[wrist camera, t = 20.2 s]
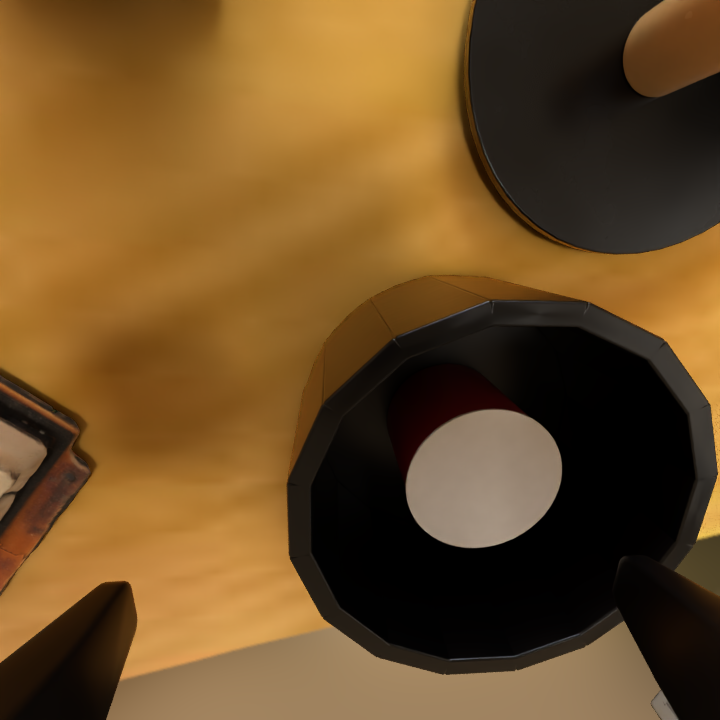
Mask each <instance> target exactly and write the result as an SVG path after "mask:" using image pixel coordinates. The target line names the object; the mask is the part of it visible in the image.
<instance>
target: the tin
mask: <svg viewBox="0 0 720 720" xmlns="http://www.w3.org/2000/svg"><path fill="white" fill-rule="evenodd" d="M440 364H458V365H463V366H466V367H469V368H472V369H474V370H476V371H478V372H479V373H480V374H482V375H483V376H484V377H485V378H487V379H488V380H489V381H490V382H491V383H492V384H493V385H494V386H495V387H497V388H498V389H499V390H500V391H501V392H502V393H503V394H504V395H506V396H507V397H508V398H509V399H510V400H511V401H512V402H513V403H515V404H516V405H517V406H518V407H519V408H520V409H521V410H522V411H523V412H525V413H526V414H527V415H528V416H529V417H530V418H532V419H534V420H535V421H537V422H538V423H539V424H541V425H542V426H543V427H544V428H545V429H546V430H547V431H548V432H549V434H550V435H551V436H552V438H553V439H554V441H555V443H556V445H557V447H558V449H559V452H560V456H561V462H562V476H561V483H560V486H559V490H558V492H557V495H556V497H555V499H554V501H553V503H552V505H551V506H550V508H549V509H548V511H547V512H546V513H545V515H544V516H543V517H542V518H541V519H540V520H539V521H538V522H537V523H536V524H535V525H533V526H532V527H531V528H530V529H528V530H527V531H526V532H524V533H523V534H521V535H519V536H517V537H515V538H514V539H511V540H509V541H507V542H504V543H501V544H498V545H494V546H489V547H481V548H464V547H457V546H453V545H450V544H447V543H444V542H442V541H439V540H437V539H436V538H434V537H432V536H431V535H430V534H428V533H427V532H426V531H424V530H423V528H422V527H421V526H420V525H419V524H418V523H417V521H416V520H415V519H414V517H413V515H412V513H411V511H410V509H409V505H408V502H407V498H406V490H405V486H404V483H403V480H402V476H401V473H400V470H399V466H398V463H397V460H396V456H395V453H394V450H393V446H392V443H391V440H390V436H389V433H388V428H387V415H388V409H389V406H390V403H391V401H392V398H393V396H394V395H395V393H396V391H397V390H398V389H399V387H400V386H401V385H402V384H403V383H404V382H405V381H406V380H407V379H408V378H410V377H411V376H412V375H414V374H415V373H417V372H419V371H421V370H423V369H425V368H428V367H431V366H434V365H440ZM717 475H718V471H717V462H716V452H715V443H714V434H713V425H712V416H711V406H710V404H709V403H708V400H707V399H706V397H705V396H704V395H703V393H702V392H701V390H700V389H699V387H698V386H697V385H696V383H695V382H694V380H693V379H692V377H691V376H690V375H689V373H688V372H687V370H686V369H685V367H684V366H683V365H682V363H681V362H680V360H679V359H678V357H677V356H676V355H675V353H674V352H673V350H672V349H671V347H670V346H669V345H668V343H667V342H666V341H665V340H664V339H663V338H661V337H659V336H657V335H655V334H653V333H651V332H649V331H647V330H645V329H643V328H641V327H639V326H637V325H635V324H633V323H631V322H629V321H627V320H625V319H622V318H620V317H618V316H616V315H614V314H612V313H610V312H608V311H606V310H604V309H602V308H600V307H598V306H596V305H594V304H592V303H590V302H586V301H582V300H578V299H574V298H570V297H566V296H562V295H558V294H554V293H549V292H545V291H541V290H537V289H533V288H529V287H525V286H521V285H517V284H513V283H508V282H504V281H500V280H496V279H492V278H488V277H468V276H458V275H445V276H428V277H427V276H425V277H422V278H420V279H415V280H411V281H408V282H405V283H402V284H399V285H396V286H394V287H392V288H389V289H387V290H385V291H383V292H381V293H379V294H377V295H375V296H374V297H371V298H370V299H369V300H367V301H366V302H364V303H363V304H361V305H360V306H359V307H358V308H357V309H355V310H354V311H353V312H352V313H351V314H349V315H348V316H347V317H346V318H345V319H344V320H343V321H342V322H341V323H340V325H339V326H338V327H337V328H336V329H335V330H334V331H333V333H332V334H331V335H330V336H329V337H328V338H327V339H326V341H325V342H324V344H323V347H322V349H321V351H320V353H319V355H318V357H317V359H316V360H315V362H314V365H313V368H312V371H311V374H310V376H309V379H308V381H307V384H306V386H305V388H304V391H303V396H302V401H301V407H300V412H299V418H298V424H297V429H296V435H295V441H294V446H293V452H292V457H291V463H290V469H289V474H288V480H287V511H288V545H289V556H290V560H291V562H292V564H293V565H294V567H295V569H296V571H297V573H298V575H299V576H300V578H301V580H302V582H303V584H304V585H305V587H306V589H307V591H308V593H309V594H310V596H311V598H312V600H313V602H314V603H315V605H316V607H317V609H318V611H319V612H320V614H321V616H322V617H323V619H324V620H326V621H327V622H328V623H330V624H331V625H333V626H334V627H335V628H337V629H338V630H340V631H341V632H342V633H344V634H345V635H346V636H348V637H349V638H351V639H352V640H353V641H355V642H356V643H358V644H359V645H360V646H362V647H363V648H365V649H366V650H367V651H369V652H370V653H371V654H373V655H374V656H376V657H379V658H381V659H386V660H389V661H393V662H397V663H400V664H405V665H408V666H412V667H416V668H420V669H423V670H427V671H431V672H435V673H439V674H446V675H450V674H468V673H486V672H504V671H515V670H516V669H517V670H520V669H523V668H526V667H529V666H532V665H535V664H538V663H540V662H543V661H546V660H549V659H552V658H555V657H558V656H561V655H563V654H566V653H569V652H572V651H575V650H578V649H581V648H584V647H585V646H586V645H589V644H591V643H592V642H594V641H595V640H597V639H598V638H599V637H601V636H602V635H604V634H605V633H607V632H608V631H610V630H611V629H612V628H614V627H615V626H617V625H618V624H620V623H621V622H623V621H624V619H623V617H622V615H621V613H620V611H619V609H618V608H617V606H616V603H615V601H614V598H613V591H612V589H613V584H614V580H615V576H616V572H617V568H618V565H619V561H620V559H621V558H622V557H624V556H633V555H644V556H648V557H650V558H651V559H653V560H655V561H657V562H659V563H660V564H662V565H664V566H666V567H668V568H669V569H671V570H673V571H674V570H675V569H676V568H677V567H678V565H679V564H680V563H681V562H682V560H683V559H684V558H685V556H686V555H687V554H688V553H689V551H690V550H691V549H692V548H693V545H694V544H695V543H696V540H697V537H698V534H699V531H700V528H701V525H702V522H703V519H704V516H705V513H706V509H707V506H708V503H709V500H710V497H711V494H712V491H713V488H714V485H715V482H716V479H717Z"/></svg>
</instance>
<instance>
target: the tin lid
mask: <svg viewBox="0 0 720 720" xmlns="http://www.w3.org/2000/svg"><path fill="white" fill-rule="evenodd" d="M464 86H465V99H466V108H467V113H468V118H469V123H470V128H471V133H472V136H473V139H474V142H475V145H476V148H477V151H478V154H479V157H480V159H481V161H482V163H483V166H484V168H485V170H486V172H487V174H488V176H489V178H490V180H491V181H492V183H493V184H494V186H495V188H496V189H497V191H498V192H499V194H500V195H501V197H502V198H503V199H504V200H505V202H506V203H507V204H508V205H509V206H510V207H511V208H512V210H513V211H514V212H515V213H516V214H517V215H518V216H519V217H520V218H521V219H523V220H524V221H525V222H526V223H527V224H529V225H530V226H531V227H532V228H533V229H535V230H537V231H538V232H540V233H541V234H543V235H545V236H546V237H548V238H550V239H551V240H554V241H556V242H558V243H561V244H563V245H566V246H568V247H571V248H575V249H579V250H583V251H587V252H593V253H603V254H638V253H643V252H649V251H654V250H660V249H663V248H666V247H669V246H672V245H675V244H678V243H681V242H683V241H686V240H688V239H690V238H692V237H694V236H697V235H699V234H701V233H703V232H705V231H706V230H708V229H710V228H711V227H713V226H715V225H716V224H718V223H720V0H473V3H472V7H471V11H470V15H469V21H468V28H467V35H466V42H465V55H464Z"/></svg>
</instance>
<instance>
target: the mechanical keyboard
mask: <svg viewBox="0 0 720 720" xmlns="http://www.w3.org/2000/svg"><path fill="white" fill-rule="evenodd" d="M53 411H54V412H53ZM79 432H80V429H79V427H78V425H77V424H76V422H75V421H74V420H73V419H72V418H70V417H68V416H66V415H64V414H62V413H61V412H60V411H57V410H53V407H52V406H50V405H48V404H47V403H45V402H44V401H42V400H40V399H39V398H37V397H35V396H34V395H32V394H31V393H29V392H27V391H26V390H24V389H22V388H21V387H19V386H17V385H16V384H14V383H12V382H11V381H9V380H7V379H5V378H3V377H2V376H1V375H0V595H1V594H2V592H3V591H4V590H5V588H6V586H7V582H8V581H9V580H10V579H11V578H12V577H13V575H14V574H15V572H16V571H17V569H18V568H19V567H20V566H21V564H22V563H23V562H24V561H25V560H26V559H27V557H28V556H29V555H30V553H32V552H33V551H34V550H35V549H36V548H37V547H38V545H39V544H40V543H41V541H42V539H43V536H44V534H45V533H46V532H48V531H49V530H50V529H51V527H52V526H53V524H54V522H55V521H56V519H57V518H58V517H59V516H60V515H61V514H62V512H63V511H64V510H65V509H66V508H67V507H68V506H69V504H70V503H71V502H72V500H73V499H74V497H75V496H76V494H77V493H78V491H79V490H80V489H81V487H82V486H83V485H84V484H85V483H86V482H87V479H88V476H89V475H90V474H91V472H90V469H89V466H88V464H87V463H86V462H85V461H84V460H83V459H81V458H80V457H79V456H77V455H76V454H75V453H74V452H73V451H72V449H71V447H72V446H73V444H74V441H75V440H76V438H77V437H78V435H79Z"/></svg>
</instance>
